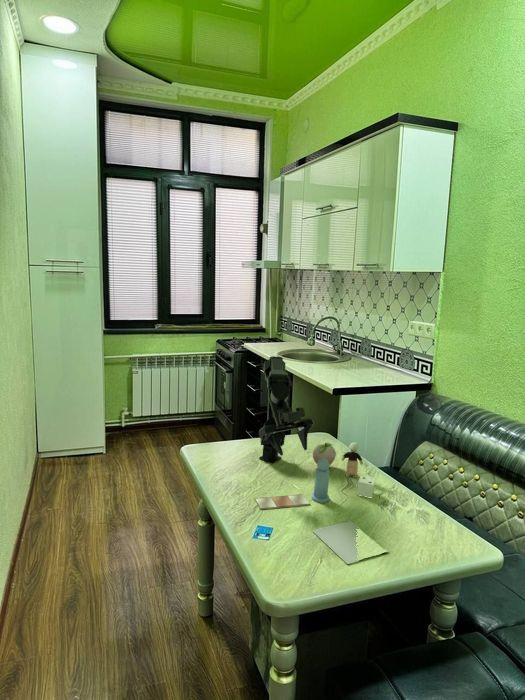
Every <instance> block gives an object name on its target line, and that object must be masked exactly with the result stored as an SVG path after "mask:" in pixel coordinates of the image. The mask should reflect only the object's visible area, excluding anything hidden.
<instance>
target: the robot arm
mask: <svg viewBox="0 0 525 700" xmlns="http://www.w3.org/2000/svg"><path fill="white" fill-rule="evenodd" d="M263 374H264V381H265V382H266V389H267V390H268V393H267V394H268V396H267V419H266V421H265V422H264V424H263V427H261V428H260V429H259V431H258V436H259V439H260V446H263V447H262V455H261V456H259V458H258V459H259V460H261V461H264V462H268V463H271V464H275V463H276V462H278V461H279V460H282V458H283V457H282V456H283V455H284V452H283V448H282V447H283V446H284V445H285V441H286V434H285V431H286V432H287V431H289V430H291V431H292V430H295V429H296V430H297V432H296V433H297V436H298V438H299V441H300V443H301V446H302V448H303V450H304V451H307V450H308V435H309V430H310V429H312V426H314V425H315V422H314V420H313V418H312V417H306V411H305V409H304V407H303V406H302V407H301V406H299V407H296V408H295V410H293V408H292V407H291V406H289V403H288V398H289V396H290V391H291V389H292V388H293V386H292V385H293V384H292V380H291V378H290V377H289V374H288V372H286V362H285V361H284V359H283V357H281V356H275V355H274V356H273V355H272V356H269V359H267V360H265V361H264V364H263ZM304 417H305V418H304Z"/></svg>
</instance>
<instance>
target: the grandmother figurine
mask: <svg viewBox="0 0 525 700" xmlns="http://www.w3.org/2000/svg"><path fill="white" fill-rule="evenodd" d="M348 449H349V450H350V451H347V452H345V453H344V454H343V455H342V458H341V461H343V462H344V461H345V459H347V463H346V475H347V476H351V477H352V478H354V477H357V476H359V473H358V469H359V468H358V467H359V466H358V465H359V463H360V465H361V466H363V465H364V461H363V458H362V456H361V454H359V453H358V452H357V451H358V450H359V443H358V442H355V441H353V442H351V443H350V444H349V445H348ZM347 476H346V477H347ZM357 478H358V477H357Z"/></svg>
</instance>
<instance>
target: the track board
mask: <svg viewBox="0 0 525 700" xmlns="http://www.w3.org/2000/svg"><path fill="white" fill-rule="evenodd" d="M253 499H254V501H255V503H256V505H257V506H258V507H259V510H260V511H264V510H265V511H266V510H274V509H275V510H276V509H285V508H296V507H298V508H299V507H305V506H311V503H310V502H309V501H308V499H307V498H306V497H305V495H304V494H303V493H301V494H288V495H278V496H269V497H255V498H253Z"/></svg>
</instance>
